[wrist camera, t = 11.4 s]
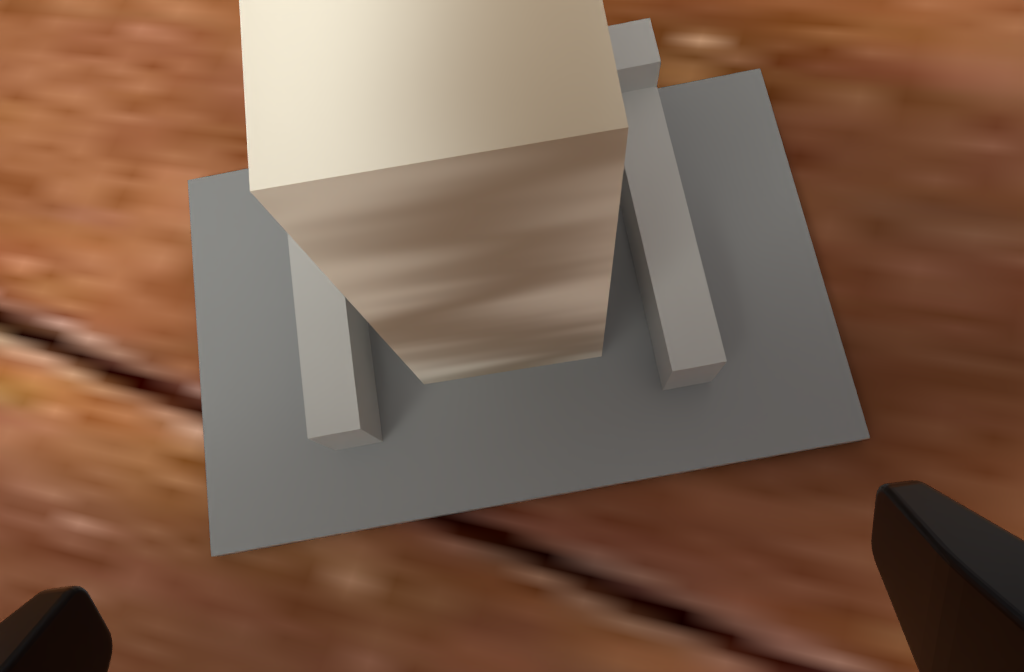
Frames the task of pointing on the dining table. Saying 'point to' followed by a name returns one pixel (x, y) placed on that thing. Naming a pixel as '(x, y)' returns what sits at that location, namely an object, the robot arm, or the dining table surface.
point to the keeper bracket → (537, 390)
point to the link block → (445, 168)
